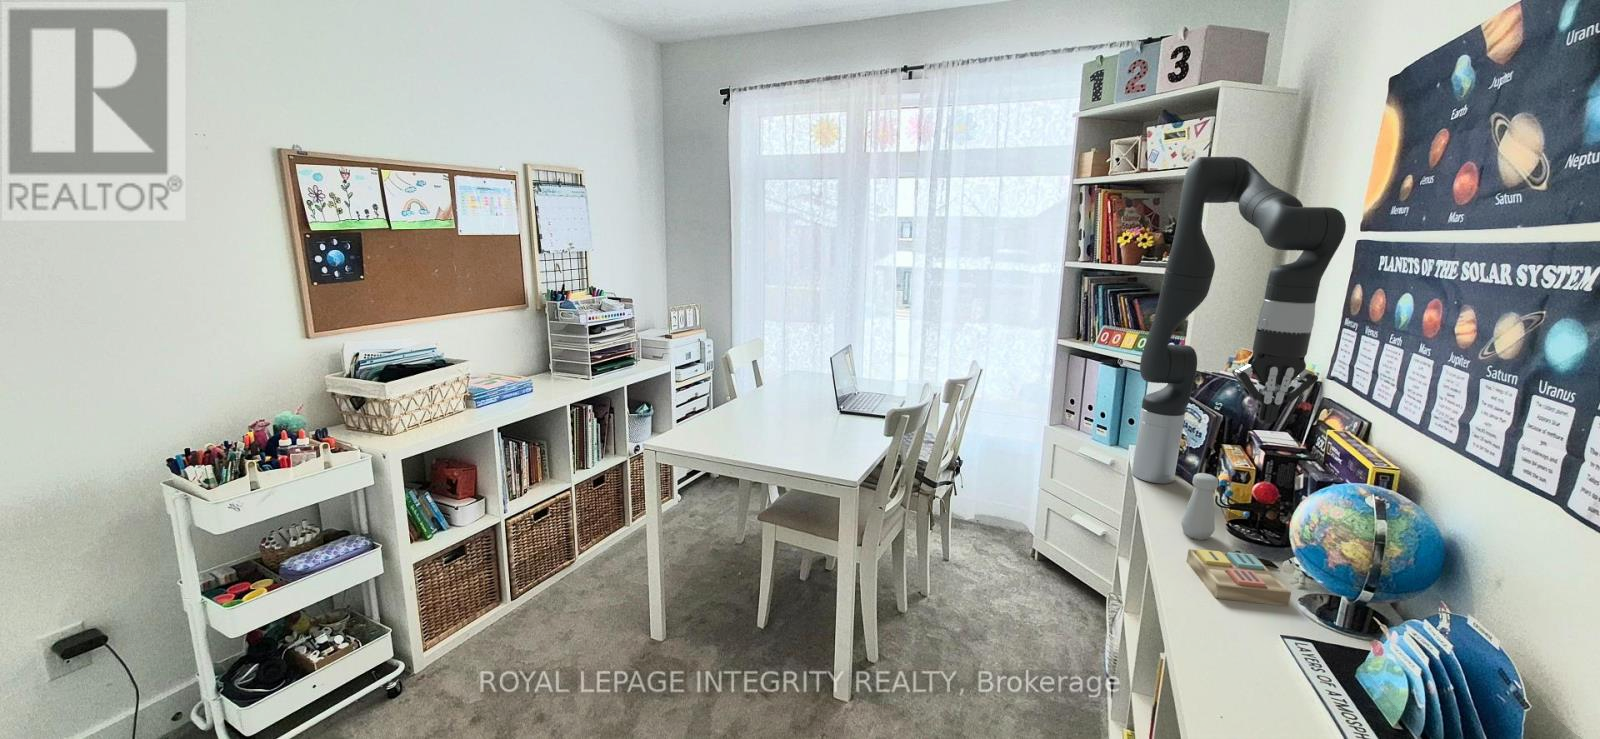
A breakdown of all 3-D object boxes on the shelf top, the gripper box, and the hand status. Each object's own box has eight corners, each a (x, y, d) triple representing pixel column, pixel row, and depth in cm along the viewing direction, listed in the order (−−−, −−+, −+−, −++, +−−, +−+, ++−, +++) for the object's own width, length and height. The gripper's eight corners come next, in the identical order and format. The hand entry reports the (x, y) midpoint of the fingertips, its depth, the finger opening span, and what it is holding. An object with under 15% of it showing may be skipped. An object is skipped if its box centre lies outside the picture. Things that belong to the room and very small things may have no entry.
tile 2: (1225, 563, 115) (1227, 551, 114) (1249, 566, 114) (1251, 553, 113) (1235, 575, 111) (1238, 563, 110) (1260, 578, 110) (1263, 565, 110)
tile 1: (1194, 560, 116) (1196, 548, 115) (1218, 563, 115) (1220, 550, 114) (1204, 572, 112) (1206, 560, 111) (1228, 575, 111) (1231, 562, 110)
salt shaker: (1219, 540, 124) (1231, 480, 121) (1197, 544, 123) (1208, 483, 120) (1194, 526, 130) (1205, 468, 127) (1172, 530, 128) (1182, 471, 125)
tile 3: (1225, 580, 109) (1227, 567, 109) (1250, 583, 109) (1253, 570, 108) (1236, 593, 106) (1239, 580, 105) (1262, 596, 105) (1265, 583, 104)
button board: (1186, 561, 117) (1188, 549, 116) (1251, 567, 115) (1254, 555, 114) (1215, 598, 105) (1218, 585, 105) (1288, 605, 104) (1291, 592, 103)
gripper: (1313, 324, 110) (1293, 418, 114) (1231, 321, 112) (1214, 413, 116) (1341, 332, 103) (1319, 432, 107) (1252, 329, 105) (1234, 427, 109)
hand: (1264, 422), depth 111 cm, fingers closed
